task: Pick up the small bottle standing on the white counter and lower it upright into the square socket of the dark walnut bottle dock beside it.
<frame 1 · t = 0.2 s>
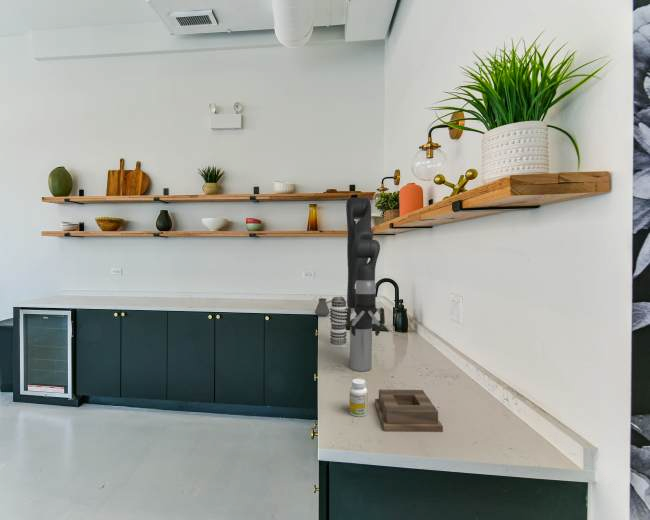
hand: (365, 335, 120), 17 cm above the worktop, tool pointing down, fingers open, 8 cm apart
supplement bottle: (358, 413, 97), on the worktop
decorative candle: (338, 345, 168), on the worktop
coffee pot: (328, 316, 245), on the worktop
bottle dock: (406, 416, 95), on the worktop
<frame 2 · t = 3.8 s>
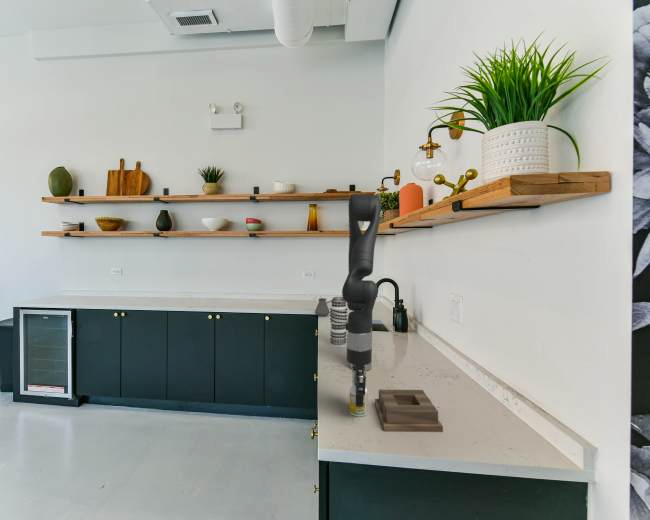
hand: (358, 401, 97), 4 cm above the worktop, tool pointing down, fingers closed on supplement bottle, 5 cm apart
supplement bottle: (358, 413, 97), on the worktop, touching gripper
everything else where it was.
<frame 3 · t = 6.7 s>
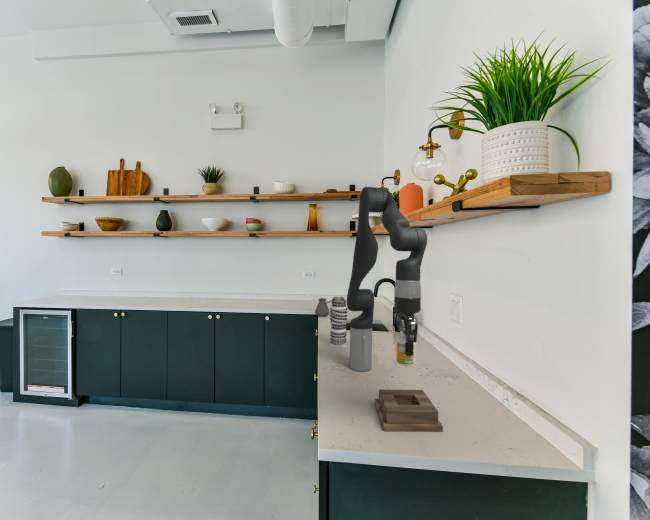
hand: (406, 351, 95), 19 cm above the worktop, tool pointing down, fingers closed on supplement bottle, 5 cm apart
supplement bottle: (406, 364, 95), point 16 cm above the worktop, touching gripper
everything else where it was.
when the fingers open (7 cm above the worktop, at t = 9.9 s): supplement bottle drops 2 cm, resting on bottle dock.
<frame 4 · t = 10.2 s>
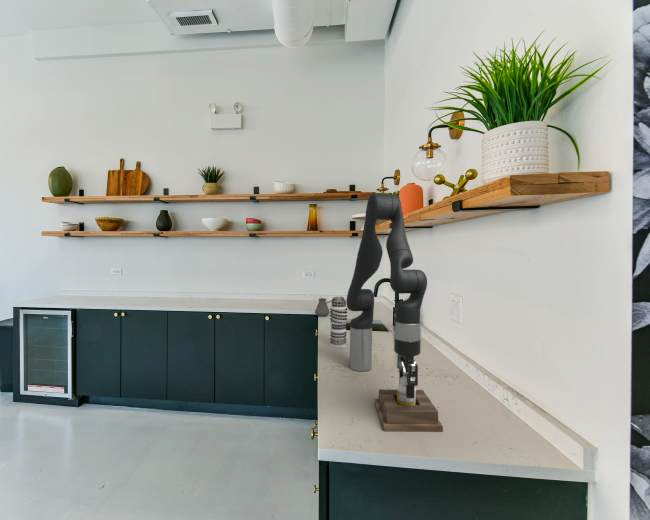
hand: (406, 391, 95), 8 cm above the worktop, tool pointing down, fingers open, 8 cm apart
supplement bottle: (405, 411, 95), point 1 cm above the worktop, touching bottle dock
everything else where it was.
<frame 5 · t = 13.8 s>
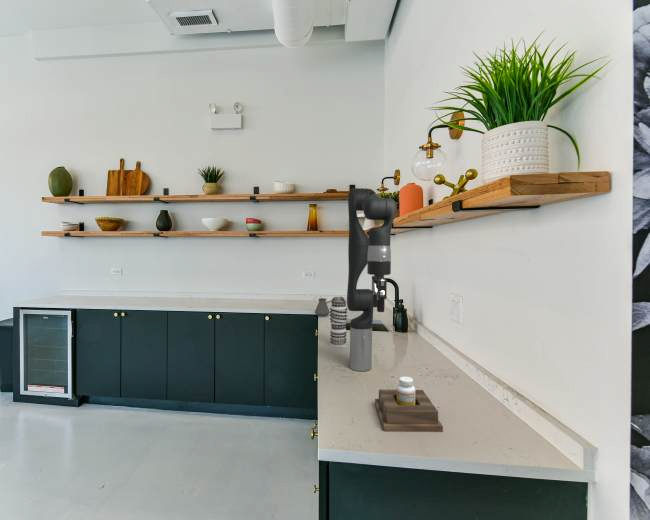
hand: (378, 309, 104), 30 cm above the worktop, tool pointing down, fingers open, 8 cm apart
nothing on the worktop moved.
at the end: supplement bottle 0.1 cm off-centre on the bottle dock, point 1.3 cm above the bottle dock's base; supplement bottle tilted 0°; the gripper is holding nothing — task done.
